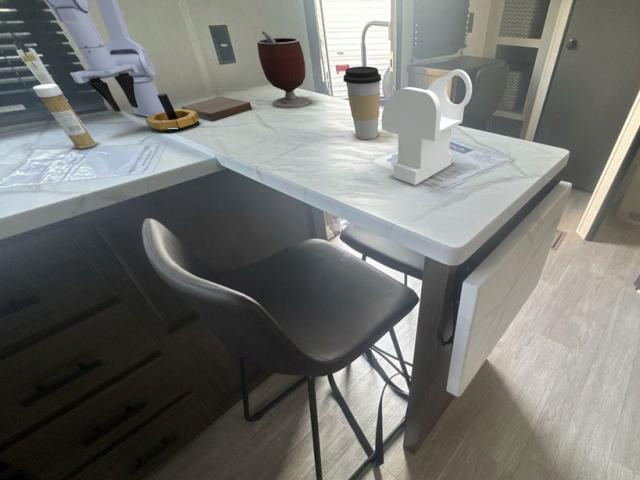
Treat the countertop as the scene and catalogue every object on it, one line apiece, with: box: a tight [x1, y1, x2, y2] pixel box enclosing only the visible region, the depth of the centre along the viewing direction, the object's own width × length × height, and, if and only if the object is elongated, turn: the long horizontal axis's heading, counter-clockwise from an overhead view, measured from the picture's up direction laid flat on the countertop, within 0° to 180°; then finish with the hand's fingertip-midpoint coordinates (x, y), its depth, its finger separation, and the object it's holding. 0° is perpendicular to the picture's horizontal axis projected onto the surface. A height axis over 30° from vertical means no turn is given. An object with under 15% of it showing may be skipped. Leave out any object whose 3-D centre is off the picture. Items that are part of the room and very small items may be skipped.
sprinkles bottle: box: [32, 83, 97, 150], centre depth 77 cm, size 5×5×14 cm
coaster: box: [180, 95, 253, 122], centre depth 103 cm, size 15×15×2 cm
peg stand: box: [157, 93, 200, 134], centre depth 90 cm, size 9×9×8 cm
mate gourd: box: [256, 30, 310, 109], centre depth 102 cm, size 16×14×20 cm
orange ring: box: [145, 108, 199, 131], centre depth 92 cm, size 13×13×2 cm
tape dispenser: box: [381, 68, 473, 186], centre depth 64 cm, size 14×13×18 cm
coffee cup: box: [342, 66, 382, 140], centre depth 81 cm, size 9×9×15 cm
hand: (126, 109), depth 87 cm, fingers open, 4 cm apart
